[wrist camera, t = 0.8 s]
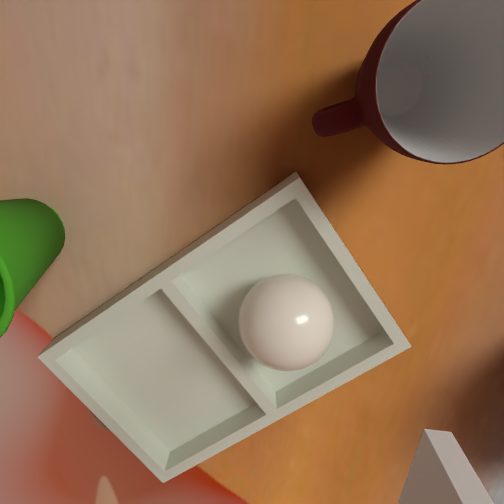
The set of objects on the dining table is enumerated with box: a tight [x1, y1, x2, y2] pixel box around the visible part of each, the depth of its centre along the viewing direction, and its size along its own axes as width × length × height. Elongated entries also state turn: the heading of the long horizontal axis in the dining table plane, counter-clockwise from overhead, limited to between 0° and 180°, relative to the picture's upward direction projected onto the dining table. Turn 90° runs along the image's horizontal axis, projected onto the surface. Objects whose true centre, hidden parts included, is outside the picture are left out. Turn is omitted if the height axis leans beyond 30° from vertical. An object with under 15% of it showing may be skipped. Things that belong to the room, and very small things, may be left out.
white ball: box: [238, 274, 335, 371], centre depth 30 cm, size 7×7×7 cm
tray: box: [38, 172, 412, 483], centre depth 34 cm, size 16×25×3 cm, turn 125°
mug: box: [312, 0, 504, 164], centre depth 24 cm, size 10×8×10 cm
